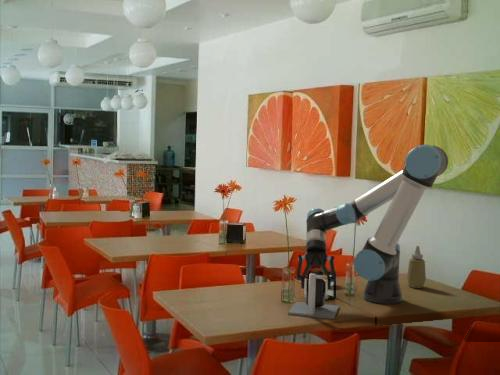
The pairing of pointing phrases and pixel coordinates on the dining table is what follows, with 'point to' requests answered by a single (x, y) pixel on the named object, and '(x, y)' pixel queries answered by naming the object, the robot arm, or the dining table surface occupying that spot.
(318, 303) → the supplement bottle
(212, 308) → the dining table surface
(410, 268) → the squeeze bottle
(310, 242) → the robot arm
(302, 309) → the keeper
